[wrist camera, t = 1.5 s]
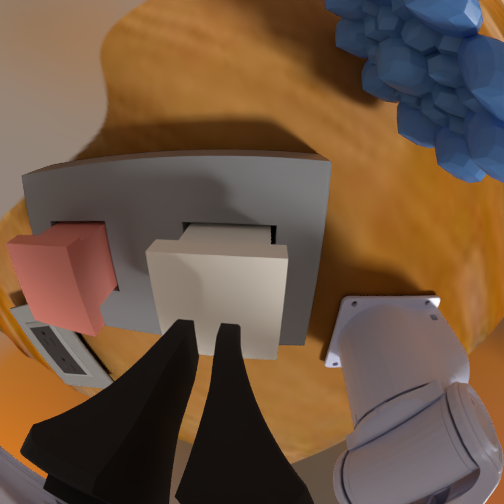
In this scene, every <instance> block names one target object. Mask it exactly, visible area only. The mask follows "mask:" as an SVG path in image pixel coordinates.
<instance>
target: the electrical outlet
mask: <svg viewBox="0 0 504 504" xmlns="http://www.w3.org/2000/svg"><path fill="white" fill-rule="evenodd" d="M10 311H11V313H12V314H13V316H14V317H15V319H16V320H17V322H18V323H19V325H20V326H21V328H22V329H23V331H24V332H25V334H26V335H27V336H28V338H29V339H30V341H31V342H32V343H33V345H34V346H35V347H36V349H37V350H38V351H39V353H40V354H41V355H42V356H43V358H44V359H45V360H46V361H47V363H48V364H49V365H50V366H51V367H52V369H53V370H54V371H55V372H56V373H57V374H58V376H59V377H60V378H61V379H62V380H63V381H64V382H65V383H66V384H68V385H76V386H85V387H95V388H106V387H108V386H109V385H110V384H112V383H113V382H114V380H113V379H112V378H111V376H110V375H109V374H108V373H107V372H106V371H105V369H104V368H103V367H102V366H101V365H100V363H99V362H98V361H97V360H96V358H95V357H94V356H93V355H92V353H91V352H90V351H89V349H88V348H87V347H86V345H85V344H84V343H83V341H82V340H81V339H80V337H79V336H78V334H77V333H76V332H75V331H71V330H67V329H64V328H60V327H56V326H53V325H50V324H46V323H43V322H40V321H37V320H35V319H34V317H33V314H32V312H31V310H30V308H29V305H28V304H24V305H20V306H16V307H12V308H10Z"/></svg>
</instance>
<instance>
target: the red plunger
mask: <svg viewBox="0 0 504 504" xmlns="http://www.w3.org/2000/svg"><path fill="white" fill-rule="evenodd" d="M6 244H7V248H8V251H9V254H10V257H11V260H12V264H13V267H14V269H15V272H16V275H17V278H18V281H19V283H20V286H21V288H22V291H23V294H24V296H25V298H26V301H27V303H28V305H29V308H30V310H31V312H32V314H33V317H34V319H35V320H37V321H40V322H43V323H46V324H50V325H53V326H56V327H60V328H64V329H67V330H71V331H75V332H79V333H83V334H87V335H91V336H95V337H96V336H97V335H98V333H99V332H100V330H101V329H102V327H103V326H104V324H105V322H104V320H103V317H102V314H101V311H100V306H101V305H102V304H103V302H104V301H105V300H106V298H107V297H108V296H109V295H110V293H111V292H112V291H113V289H114V288H115V287H116V286H117V284H118V282H117V278H116V274H115V270H114V265H113V261H112V256H111V251H110V246H109V241H108V236H107V230H106V225H105V221H60V222H58V223H57V224H55V225H54V226H52V227H51V228H49V229H47V230H46V231H44V232H43V233H42V234H40V235H18V236H16V237H15V238H13V239H12V240H10V241H9V242H7V243H6Z"/></svg>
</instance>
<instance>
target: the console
mask: <svg viewBox="0 0 504 504" xmlns="http://www.w3.org/2000/svg"><path fill="white" fill-rule="evenodd" d="M331 165H332V162H331V161H330V160H328V159H327V158H325V157H323V156H322V155H320V154H313V153H301V152H287V151H269V150H234V149H211V150H176V151H158V152H144V153H133V154H122V155H113V156H105V157H97V158H90V159H83V160H77V161H70V162H65V163H59V164H54V165H50V166H47V167H44V168H41V169H38V170H36V171H33V172H30V173H28V174H25V175H22V182H23V188H24V195H25V200H26V206H27V211H28V216H29V220H30V225H31V229H32V233H33V235H40V234H42V233H43V232H44V231H46V230H47V229H49V228H51V227H52V226H54V225H55V224H57V223H58V222H60V221H105V225H106V230H107V236H108V241H109V246H110V251H111V256H112V261H113V265H114V270H115V274H116V278H117V282H118V284H117V286H116V287H115V288H114V289H113V291H112V292H111V293H110V295H109V296H108V297H107V298H106V300H105V301H104V302H103V304H102V305H101V306H100V311H101V314H102V317H103V320H104V322H105V324H104V325H106V326H111V327H116V328H122V329H128V330H133V331H140V332H146V333H152V334H159V335H162V332H161V328H160V324H159V320H158V315H157V311H156V306H155V301H154V296H153V291H152V286H151V281H150V276H149V270H148V264H147V258H146V252H145V251H146V250H147V249H148V248H149V247H150V246H151V244H152V243H153V242H154V241H155V240H156V239H161V240H179V239H180V237H181V236H182V235H183V233H184V232H185V231H186V229H187V228H188V226H189V225H190V224H191V222H204V223H233V224H257V225H274V239H273V244H274V245H287V253H288V267H287V277H286V286H285V295H284V304H283V313H282V321H281V330H280V338H279V345H304V344H305V339H306V335H307V330H308V325H309V320H310V315H311V309H312V304H313V298H314V293H315V287H316V281H317V275H318V269H319V263H320V256H321V250H322V243H323V236H324V228H325V221H326V212H327V204H328V195H329V186H330V176H331Z"/></svg>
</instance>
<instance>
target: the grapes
mask: <svg viewBox="0 0 504 504" xmlns="http://www.w3.org/2000/svg"><path fill="white" fill-rule="evenodd" d="M325 9H327V10H328V11H330V12H332V13H334V14H336V15H338V16H340V17H341V18H342V19H341V20H340V21H339V22H338V23H337V26H336V29H335V42H336V47H338V48H340V49H342V50H344V51H346V52H348V53H350V54H352V55H355V56H357V57H360V58H366V59H368V60H367V61H365V64H364V67H363V69H362V89H363V90H364V91H365V92H367V93H369V94H370V95H372V96H375V97H377V98H379V99H381V100H383V101H386V102H392V103H398V102H399V104H398V106H397V126H398V133H399V134H400V135H402V136H403V137H405V138H407V139H408V140H410V141H412V142H413V143H415V144H417V145H420V146H423V147H427V148H433V147H435V152H436V158H437V163H438V165H439V166H441V167H442V168H443V169H444V170H446V171H447V172H449V173H450V174H452V175H453V176H454V177H456V178H458V179H461V180H463V181H466V182H468V183H472V182H480V181H481V180H482V179H483V178H484V176H485V175H486V174H488V175H489V176H490V177H492V178H494V179H496V180H498V181H501V182H503V183H504V42H502V41H500V40H498V39H495V38H491V37H488V36H484V35H481V34H478V32H479V29H480V27H481V24H482V22H483V17H482V12H481V8H480V5H479V2H478V0H325Z"/></svg>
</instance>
